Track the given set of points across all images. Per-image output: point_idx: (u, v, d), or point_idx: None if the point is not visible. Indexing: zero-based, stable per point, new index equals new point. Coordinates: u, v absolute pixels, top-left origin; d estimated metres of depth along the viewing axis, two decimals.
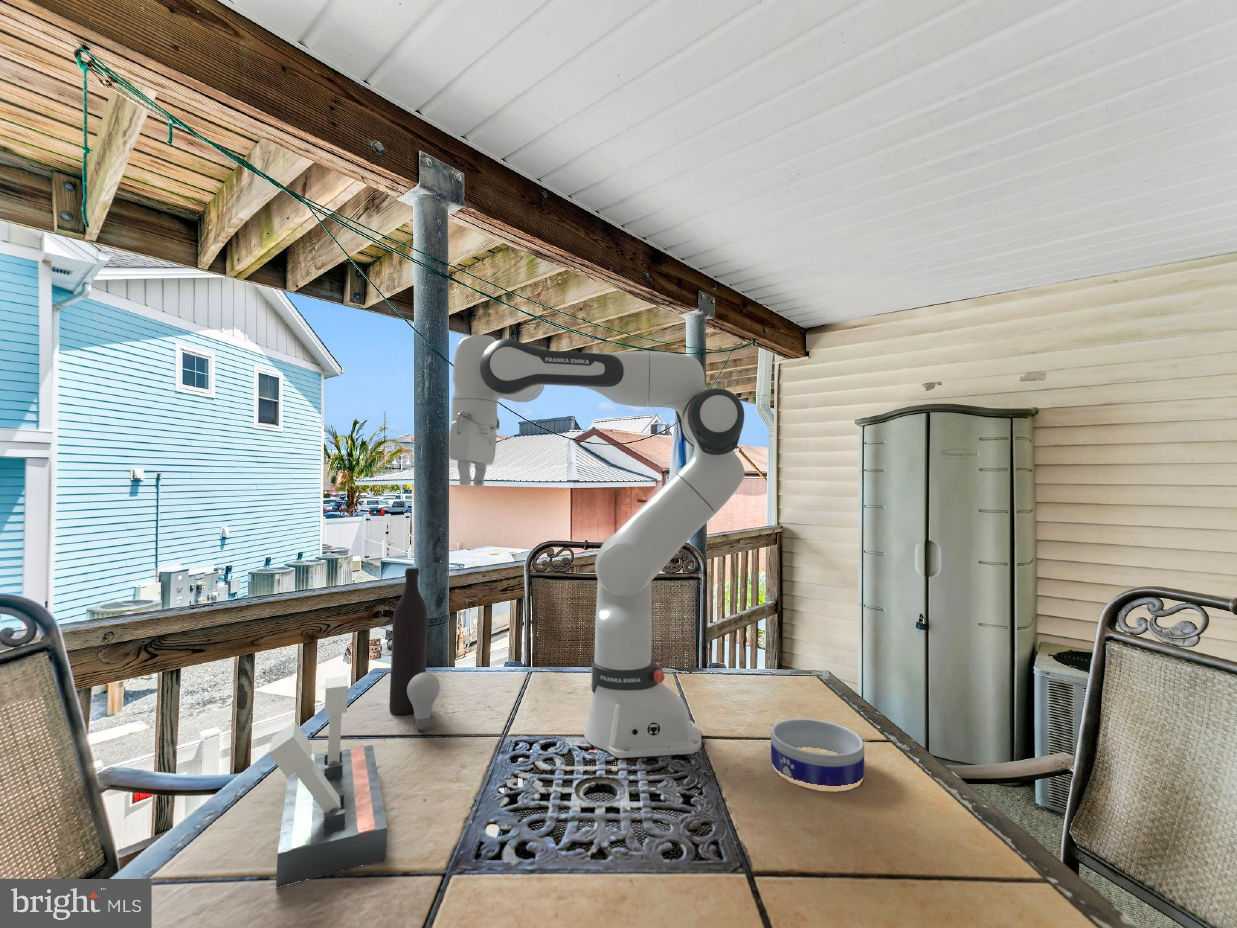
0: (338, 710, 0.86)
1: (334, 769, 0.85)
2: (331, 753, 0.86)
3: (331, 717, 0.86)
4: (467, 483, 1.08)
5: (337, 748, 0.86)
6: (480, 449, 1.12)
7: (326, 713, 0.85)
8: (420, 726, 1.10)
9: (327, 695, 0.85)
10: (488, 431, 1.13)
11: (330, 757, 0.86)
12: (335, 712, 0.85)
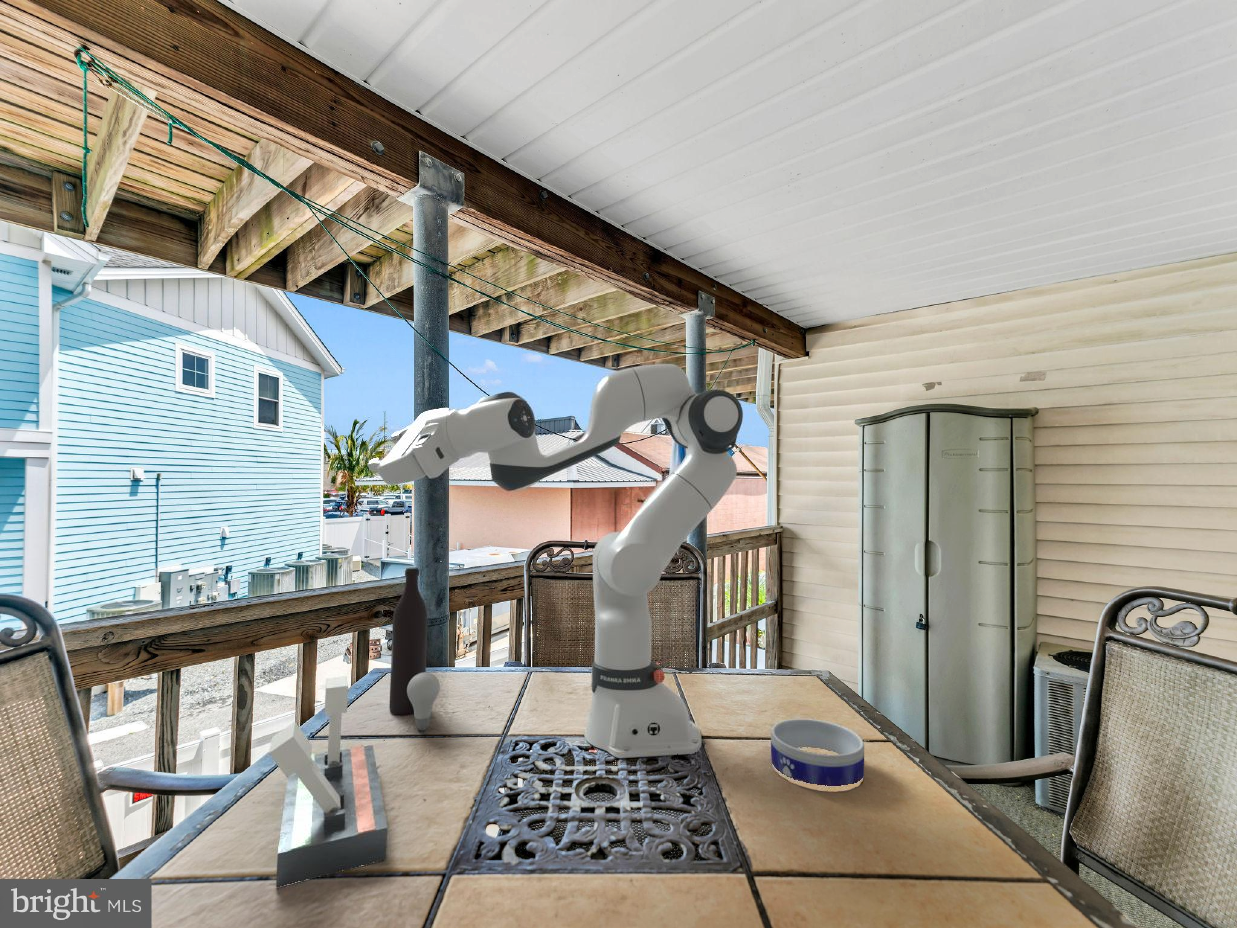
0: (338, 710, 0.86)
1: (334, 769, 0.85)
2: (331, 753, 0.86)
3: (331, 717, 0.86)
4: None
5: (337, 748, 0.86)
6: (413, 432, 1.04)
7: (326, 713, 0.85)
8: (420, 726, 1.10)
9: (327, 695, 0.85)
10: None
11: (330, 757, 0.86)
12: (335, 712, 0.85)
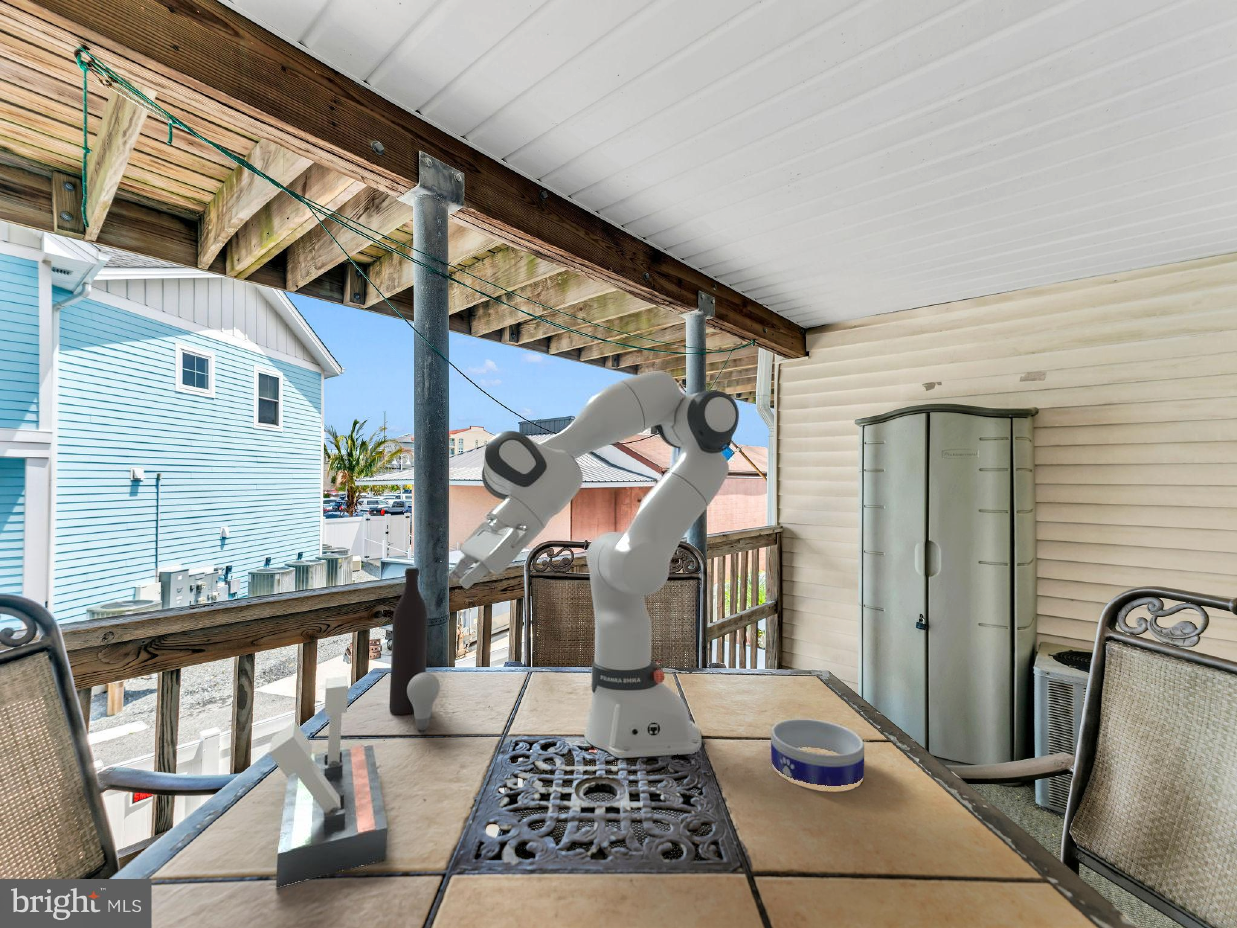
0: (338, 710, 0.86)
1: (334, 769, 0.85)
2: (331, 753, 0.86)
3: (331, 717, 0.86)
4: (467, 587, 0.92)
5: (337, 748, 0.86)
6: None
7: (326, 713, 0.85)
8: (420, 726, 1.10)
9: (327, 695, 0.85)
10: None
11: (330, 757, 0.86)
12: (335, 712, 0.85)
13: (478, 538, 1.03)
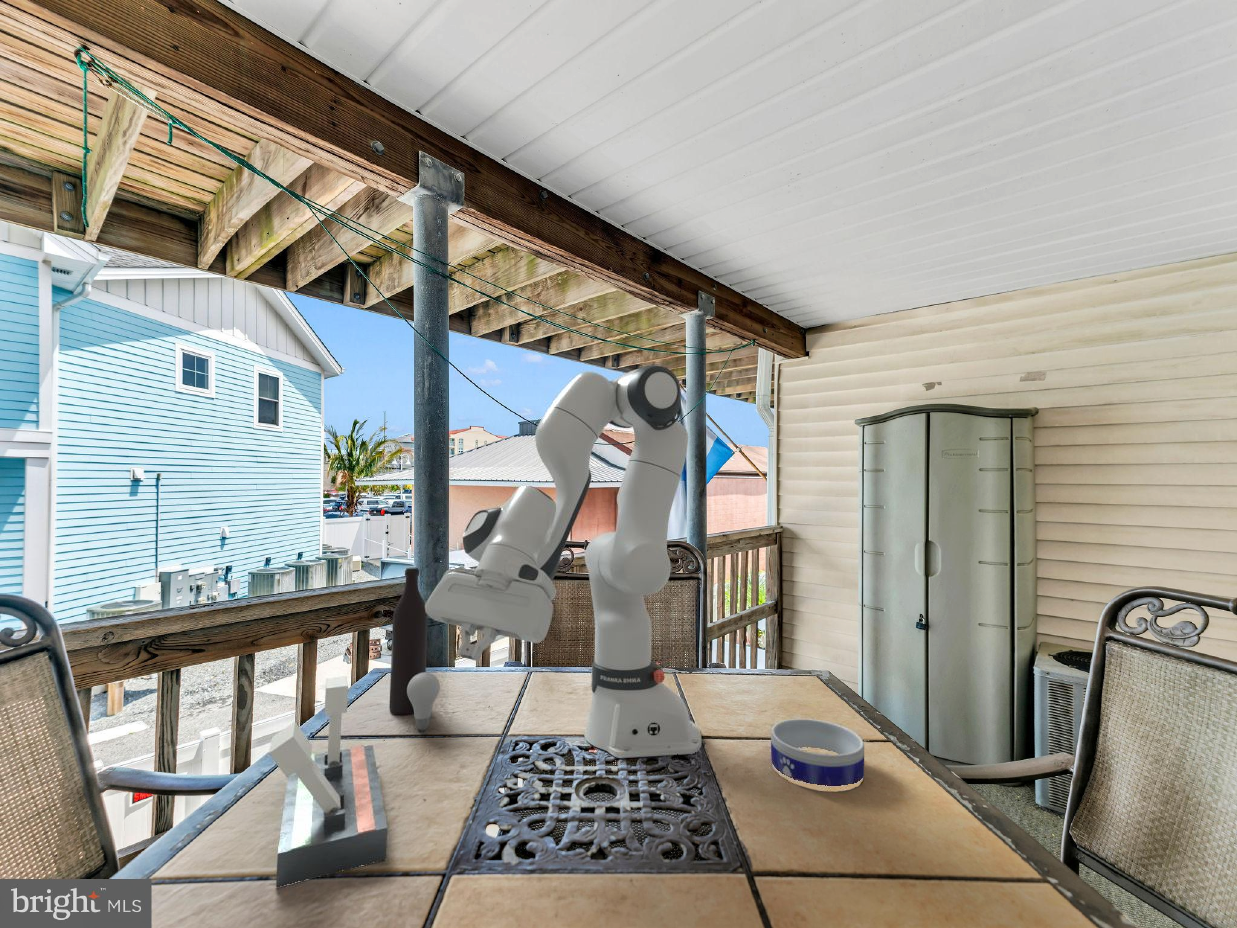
0: (338, 710, 0.86)
1: (334, 769, 0.85)
2: (331, 753, 0.86)
3: (331, 717, 0.86)
4: None
5: (337, 748, 0.86)
6: (475, 606, 0.86)
7: (326, 713, 0.85)
8: (420, 726, 1.10)
9: (327, 695, 0.85)
10: (486, 581, 0.87)
11: (330, 757, 0.86)
12: (335, 712, 0.85)
13: None
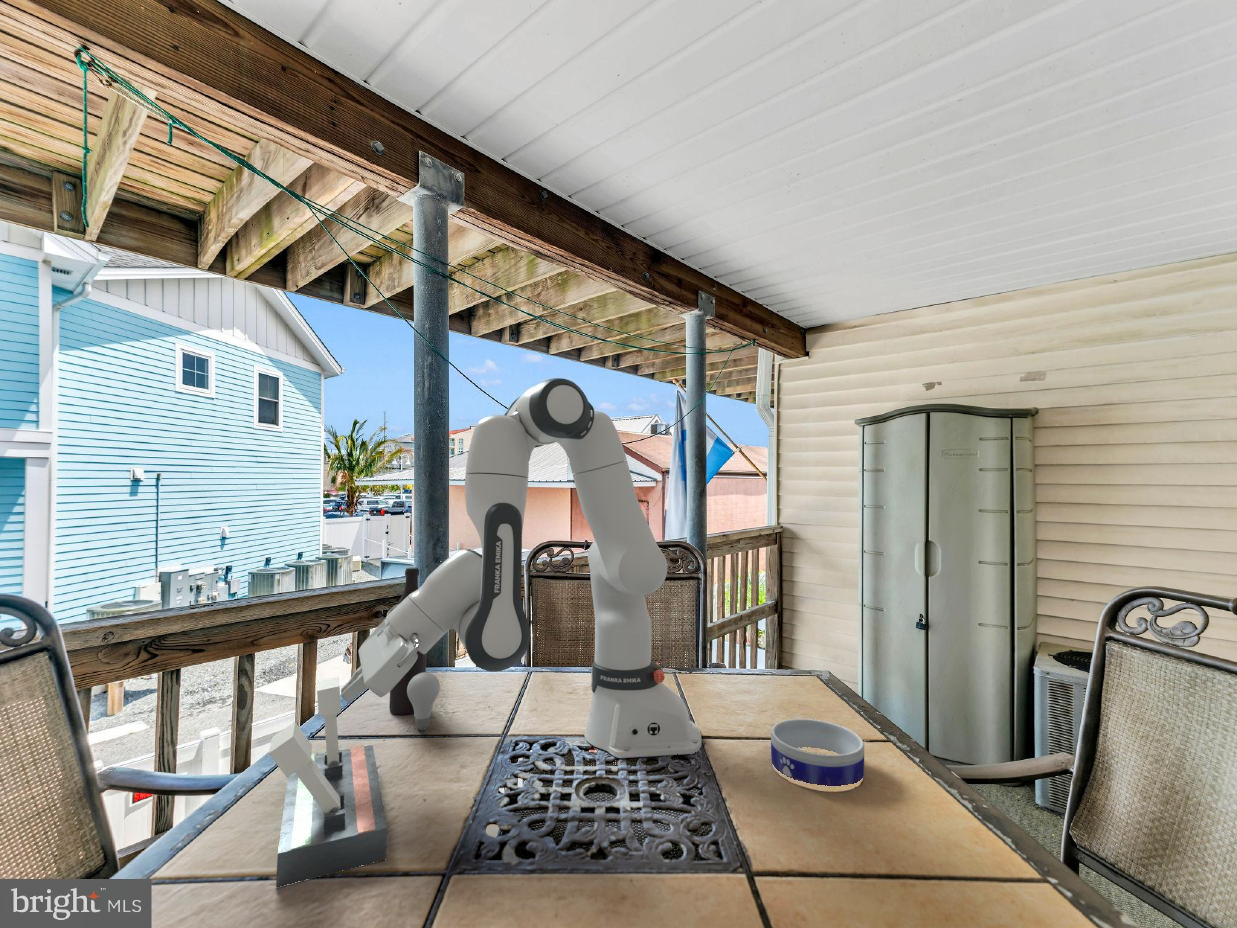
0: (332, 711, 0.85)
1: (334, 769, 0.85)
2: (329, 753, 0.86)
3: (326, 718, 0.86)
4: (349, 700, 0.87)
5: (335, 748, 0.86)
6: None
7: (320, 715, 0.84)
8: (420, 726, 1.10)
9: (319, 697, 0.84)
10: None
11: (329, 758, 0.86)
12: (329, 713, 0.85)
13: (375, 642, 0.94)
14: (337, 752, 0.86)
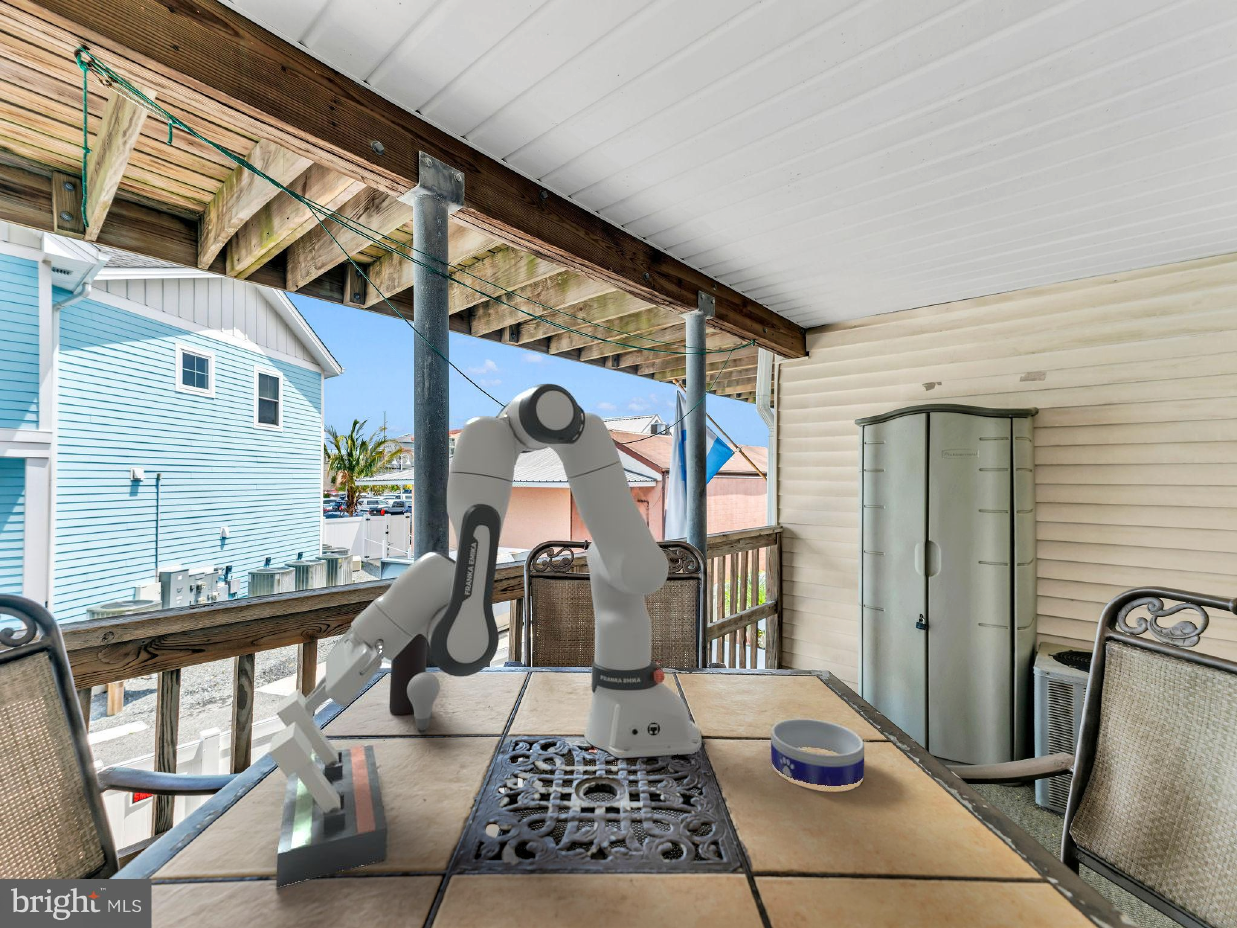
0: (303, 723, 0.83)
1: (334, 769, 0.85)
2: (323, 757, 0.85)
3: (302, 731, 0.84)
4: (313, 709, 0.85)
5: (326, 751, 0.85)
6: None
7: None
8: (420, 726, 1.10)
9: (282, 718, 0.82)
10: None
11: (326, 761, 0.85)
12: (301, 726, 0.83)
13: (341, 648, 0.92)
14: (330, 753, 0.86)
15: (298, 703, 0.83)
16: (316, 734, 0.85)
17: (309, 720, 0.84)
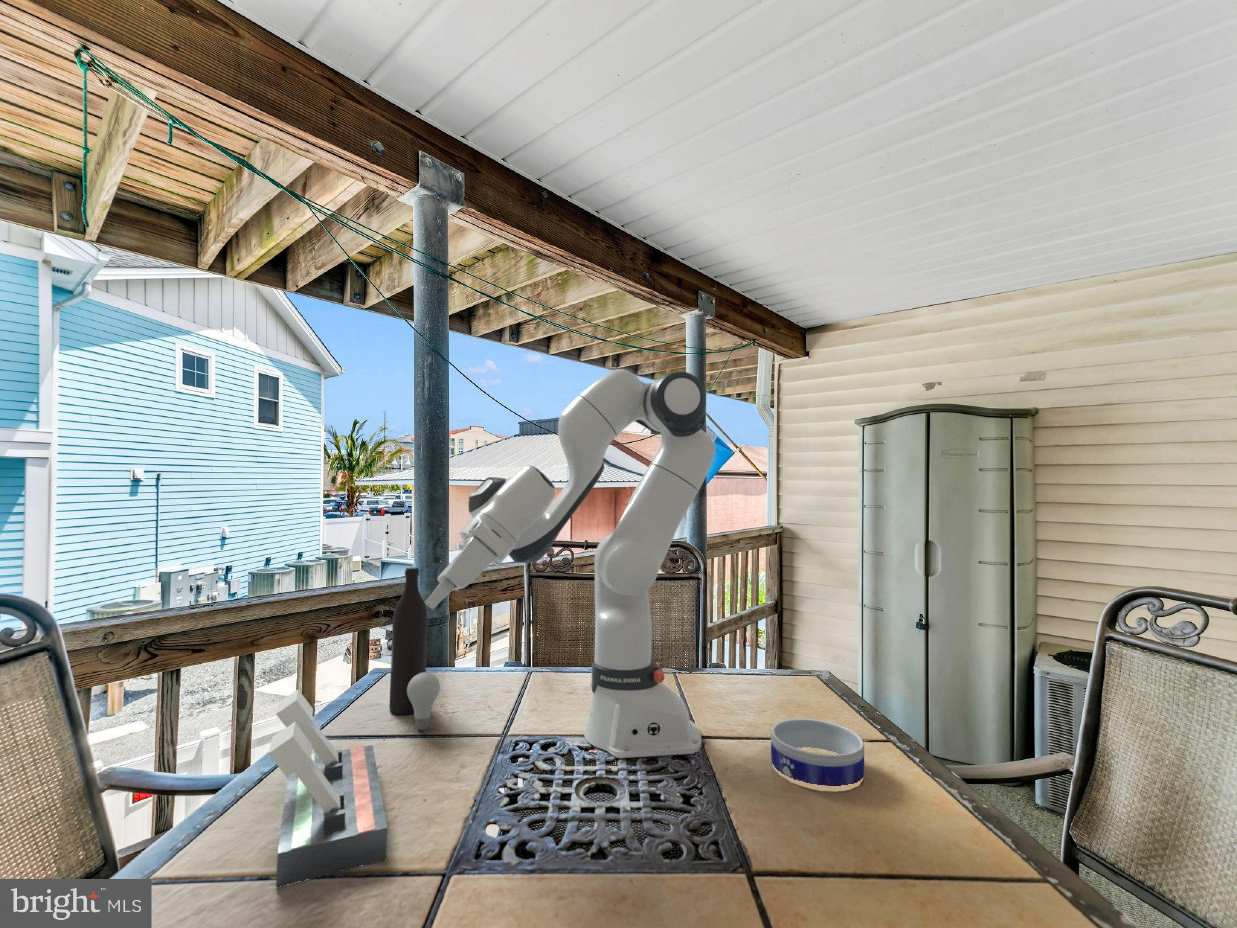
0: (302, 723, 0.83)
1: (334, 769, 0.85)
2: (323, 757, 0.85)
3: (302, 731, 0.84)
4: None
5: (326, 751, 0.85)
6: None
7: None
8: (420, 726, 1.10)
9: (282, 718, 0.82)
10: None
11: (326, 761, 0.85)
12: (301, 726, 0.83)
13: None
14: (330, 753, 0.86)
15: (298, 703, 0.83)
16: (316, 734, 0.85)
17: (309, 720, 0.84)
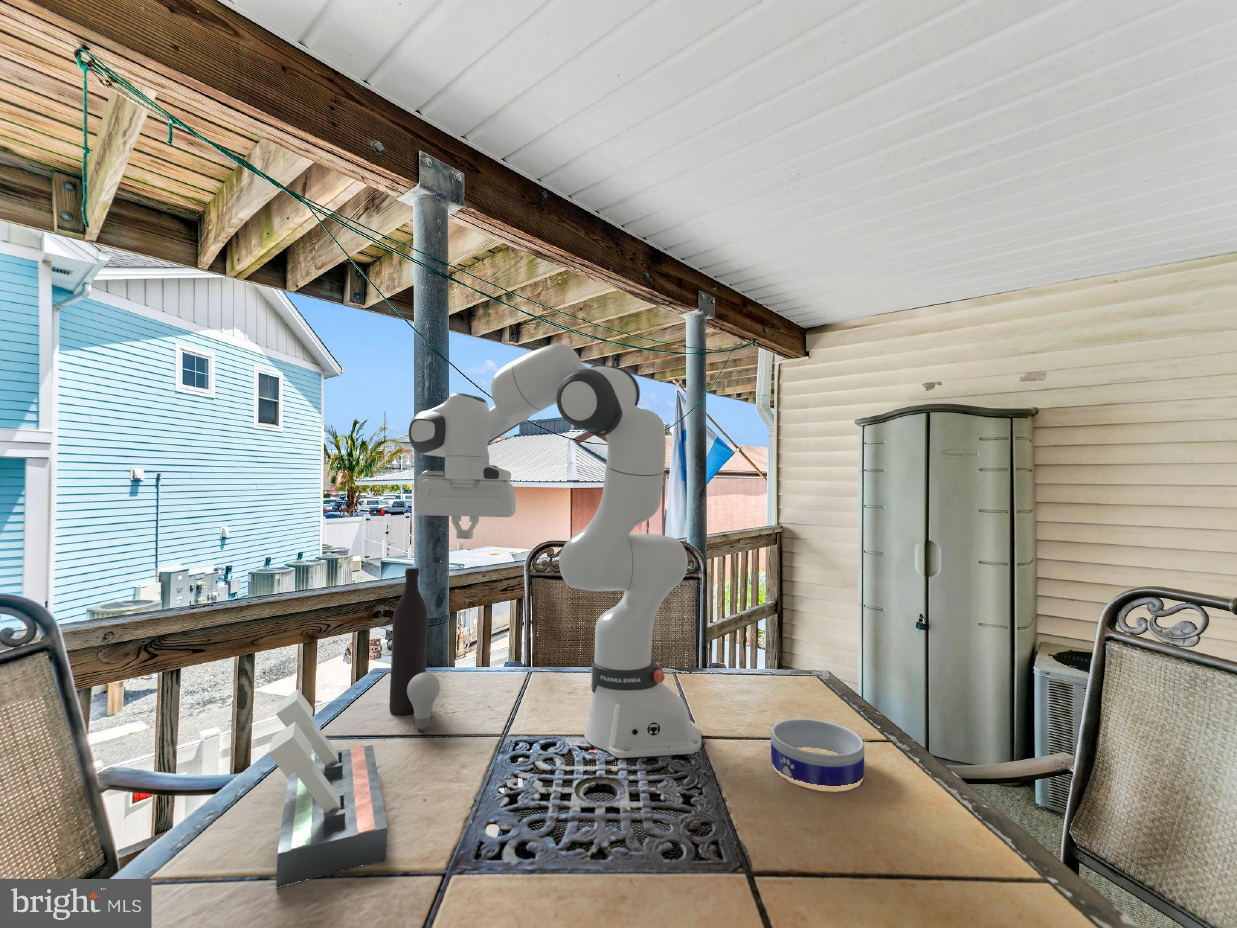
0: (302, 723, 0.83)
1: (334, 769, 0.85)
2: (323, 757, 0.85)
3: (302, 731, 0.84)
4: None
5: (326, 751, 0.85)
6: (456, 503, 1.15)
7: None
8: (420, 726, 1.10)
9: (282, 718, 0.82)
10: (459, 485, 1.14)
11: (326, 761, 0.85)
12: (301, 726, 0.83)
13: None
14: (330, 753, 0.86)
15: (298, 703, 0.83)
16: (316, 734, 0.85)
17: (309, 720, 0.84)
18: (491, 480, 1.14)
